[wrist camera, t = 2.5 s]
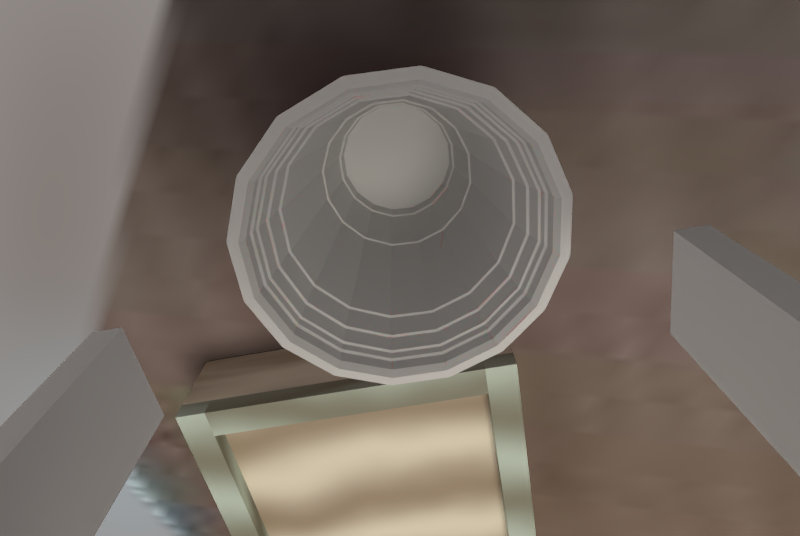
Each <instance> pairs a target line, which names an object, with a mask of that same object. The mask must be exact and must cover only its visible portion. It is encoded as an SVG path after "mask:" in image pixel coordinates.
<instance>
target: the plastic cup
mask: <svg viewBox="0 0 800 536" xmlns="http://www.w3.org/2000/svg"><path fill="white" fill-rule="evenodd" d="M572 201H573V194H572V191H571V189H570V187H569V184H568V182H567V179H566V177H565V175H564V172H563V170H562V167H561V165H560V163H559V160H558V158H557V155H556V153H555V151H554V148H553V146H552V143H551V141H550V139H549V136H548V134H547V133H546V132H545V131H544V130H542V129H541V128H540V127H539V126H538V125H537V124H536V123H535V122H533V121H532V120H531V119H530V118H529V117H528V116H527V115H526V114H524V113H523V112H522V111H521V110H520V109H519V108H518V107H517V106H515V105H514V104H513V103H512V102H511V101H510V100H509V99H508V98H506V97H505V96H504V95H503V94H502V93H501V92H500V91H499V90H497V89H496V88H495V87H493V86H489V85H486V84H482V83H479V82H476V81H472V80H469V79H466V78H462V77H459V76H456V75H452V74H449V73H445V72H442V71H439V70H435V69H432V68H429V67H425V66H422V65H421V66H413V67H406V68H398V69H391V70H383V71H376V72H368V73H361V74H353V75H346V76H342V77H340V78H339V79H337V80H335V81H334V82H332V83H330V84H329V85H327V86H325V87H324V88H322V89H321V90H319V91H317V92H316V93H314V94H312V95H311V96H309V97H308V98H306V99H304V100H303V101H301V102H299V103H298V104H296V105H295V106H293V107H291V108H290V109H288V110H286V111H285V112H283V113H282V114H280V115H278V116H277V117H276V118H275V120H274V121H273V123H272V124H271V126H270V127H269V129H268V130H267V132H266V133H265V134H264V136H263V137H262V139H261V140H260V142H259V143H258V145H257V146H256V148H255V149H254V151H253V152H252V154H251V155H250V157H249V158H248V160H247V161H246V163H245V164H244V166H243V167H242V169H241V170H240V172H239V173H238V175H237V176H236V181H235V188H234V195H233V201H232V208H231V215H230V221H229V228H228V235H227V241H226V243H227V246H228V249H229V253H230V256H231V259H232V263H233V266H234V270H235V273H236V276H237V280H238V283H239V286H240V290H241V293H242V296H243V300H244V302H245V303H246V304H247V306H248V307H249V308H250V309H251V310H252V312H253V313H254V314H255V315H256V316H257V318H258V319H259V320H260V321H261V322H262V323H263V325H264V326H265V327H266V328H267V329H268V331H269V332H270V333H271V334H272V335H273V337H274V338H275V339H276V340H277V341H278V342H279V344H280V345H281V346H282V347H283V348H285V349H287V350H288V351H290V352H292V353H294V354H296V355H298V356H299V357H301V358H303V359H305V360H307V361H308V362H310V363H312V364H314V365H316V366H318V367H319V368H321V369H323V370H325V371H327V372H329V373H330V374H332V375H334V376H340V377H346V378H351V379H357V380H363V381H369V382H375V383H381V384H386V385H398V384H405V383H412V382H419V381H426V380H433V379H440V378H447V377H451V376H453V375H455V374H457V373H459V372H461V371H463V370H465V369H467V368H469V367H472V366H474V365H476V364H478V363H480V362H482V361H484V360H486V359H488V358H490V357H492V356H494V355H496V354H498V353H500V352H502V351H504V350H505V349H506V348H507V347H508V346H509V345H510V344H511V343H512V342H513V341H514V340H515V339H516V338H517V337H518V336H519V335H520V334H521V333H522V332H523V331H524V330H525V329H526V328H527V327H528V326H529V325H530V324H531V323H532V322H533V321H534V320H535V319H536V318H537V317H538V316H539V315H540V314H541V313H542V312H543V311H544V310H545V309H546V306H547V304H548V302H549V300H550V298H551V296H552V294H553V292H554V289H555V287H556V285H557V283H558V281H559V279H560V277H561V275H562V272H563V270H564V268H565V266H566V264H567V262H568V260H569V257H570V250H571V225H572Z"/></svg>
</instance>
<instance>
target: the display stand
mask: <svg viewBox="0 0 800 536" xmlns="http://www.w3.org/2000/svg"><path fill="white" fill-rule="evenodd" d="M175 418H176V420H177V422H178V424H179V426H180V429H181V431H182V433H183V435H184V437H185V439H186V441H187V443H188V445H189V448H190V450H191V452H192V454H193V456H194V458H195V460H196V462H197V464H198V466H199V469H200V471H201V473H202V475H203V477H204V479H205V481H206V483H207V485H208V487H209V490H210V492H211V494H212V496H213V498H214V500H215V502H216V504H217V506H218V508H219V511H220V513H221V515H222V517H223V519H224V521H225V523H226V525H227V527H228V529H229V532H230V534H231V536H536V532H535V523H534V514H533V505H532V496H531V487H530V478H529V469H528V460H527V451H526V442H525V433H524V424H523V415H522V406H521V397H520V389H519V380H518V371H517V363H516V360H515V358H514V355H513V352H512V349H511V346H510V345H509V346H508V347H507V348H506V349H505V350H504V351H502V352H500V353H498V354H496V355H494V356H492V357H490V358H488V359H486V360H484V361H482V362H480V363H478V364H476V365H474V366H472V367H469V368H467V369H465V370H463V371H461V372H459V373H457V374H455V375H453V376H451V377H447V378H440V379H433V380H426V381H419V382H412V383H405V384H398V385H386V384H381V383H375V382H369V381H363V380H357V379H351V378H346V377H340V376H334V375H332V374H330V373H329V372H327V371H325V370H323V369H321V368H319V367H318V366H316V365H314V364H312V363H310V362H308V361H307V360H305V359H303V358H301V357H299V356H298V355H296V354H294V353H292V352H290V351H288V350H287V349H281V350H275V351H269V352H263V353H257V354H251V355H244V356H238V357H232V358H226V359H220V360H214V361H208V362H206V363H205V365H204V367H203V369H202V371H201V372H200V374H199V376H198V378H197V380H196V381H195V383H194V385H193V387H192V389H191V390H190V392H189V394H188V396H187V398H186V399H185V401H184V403H183V405H182V407H181V408H180V410H179V412H178V414H177V416H176V417H175Z"/></svg>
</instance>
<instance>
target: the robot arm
mask: <svg viewBox="0 0 800 536" xmlns="http://www.w3.org/2000/svg"><path fill="white" fill-rule="evenodd" d="M670 334H671V335H672V336H673V337H674V338H675V339H676V340H677V341H678V342H679V344H680V345H681V346H682V347H683V348H684V349H685V350H686V351H687V352H688V354H689V355H690V356H691V357H692V358H693V359H694V360H695V361H696V362H697V363H698V365H699V366H700V367H701V368H702V369H703V370H704V371H705V372H706V373H707V375H708V376H709V377H710V378H711V379H712V380H713V381H714V382H715V383H716V384H717V386H718V387H719V388H720V389H721V390H722V391H723V392H724V393H725V394H726V396H727V397H728V398H729V399H730V400H731V401H732V402H733V403H734V404H735V405H736V407H737V408H738V409H739V410H740V411H741V412H742V413H743V414H744V415H745V416H746V418H747V419H748V420H749V421H750V422H751V423H752V424H753V425H754V426H755V428H756V429H757V430H758V431H759V432H760V433H761V434H762V435H763V436H764V437H765V439H766V440H767V441H768V442H769V443H770V444H771V445H772V446H773V447H774V449H775V450H776V451H777V452H778V453H779V454H780V455H781V456H782V457H783V458H784V460H785V461H786V462H787V463H788V464H789V465H790V466H791V467H792V468H793V469H794V471H795V472H796V473H797V474H798V475H799V476H800V282H799V281H797V280H796V279H794V278H793V277H791V276H789V275H788V274H786V273H785V272H783V271H782V270H780V269H778V268H777V267H775V266H774V265H772V264H770V263H769V262H767V261H766V260H764V259H762V258H761V257H759V256H758V255H756V254H754V253H753V252H751V251H750V250H748V249H746V248H745V247H743V246H742V245H740V244H738V243H737V242H735V241H734V240H732V239H731V238H729V237H727V236H726V235H724V234H723V233H721V232H719V231H718V230H716V229H715V228H713V227H711V226H710V225H704V226H699V227H693V228H687V229H681V230H676V231H674V243H673V271H672V299H671V327H670ZM163 417H164V414H163V412H162V410H161V408H160V406H159V404H158V402H157V399H156V397H155V395H154V393H153V391H152V389H151V387H150V385H149V383H148V381H147V379H146V377H145V375H144V372H143V370H142V368H141V366H140V364H139V362H138V360H137V358H136V356H135V354H134V352H133V350H132V347H131V345H130V343H129V341H128V339H127V337H126V335H125V333H124V331H123V329H122V328H116V329H110V330H105V331H99V332H93V333H91V334H90V335H89V336H88V337H87V338H86V339H85V340H84V341H83V342H82V344H81V345H80V346H79V347H78V348H77V349H76V350H75V351H74V352H73V353H72V354H71V355H70V356H69V357H68V358H67V359H66V360H65V361H64V362H63V363H62V364H61V365H60V366H59V367H58V368H57V369H56V370H55V371H54V372H53V373H52V374H51V375H50V377H48V378H47V380H45V382H43V384H41V385H40V387H38V389H37V390H36V391H35V392H34V393H33V394H32V395H31V396H30V397H29V398H28V399H27V400H26V401H25V402H24V403H23V404H22V405H21V406H20V407H19V408H18V409H17V410H16V411H15V412H14V413H13V414H12V415H11V416H10V417H9V418H8V419H7V421H5V422H4V423H3V424H2V425H1V427H0V536H94V535H95V534H96V532H97V530H98V528H99V527H100V525H101V523H102V522H103V520H104V518H105V516H106V515H107V513H108V511H109V510H110V508H111V506H112V504H113V503H114V501H115V499H116V498H117V496H118V494H119V493H120V491H121V489H122V487H123V486H124V484H125V482H126V481H127V479H128V477H129V475H130V474H131V472H132V470H133V469H134V467H135V465H136V463H137V462H138V460H139V458H140V457H141V455H142V453H143V451H144V450H145V448H146V446H147V445H148V443H149V441H150V439H151V438H152V436H153V434H154V433H155V431H156V429H157V427H158V426H159V424H160V422H161V421H162V419H163Z"/></svg>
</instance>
